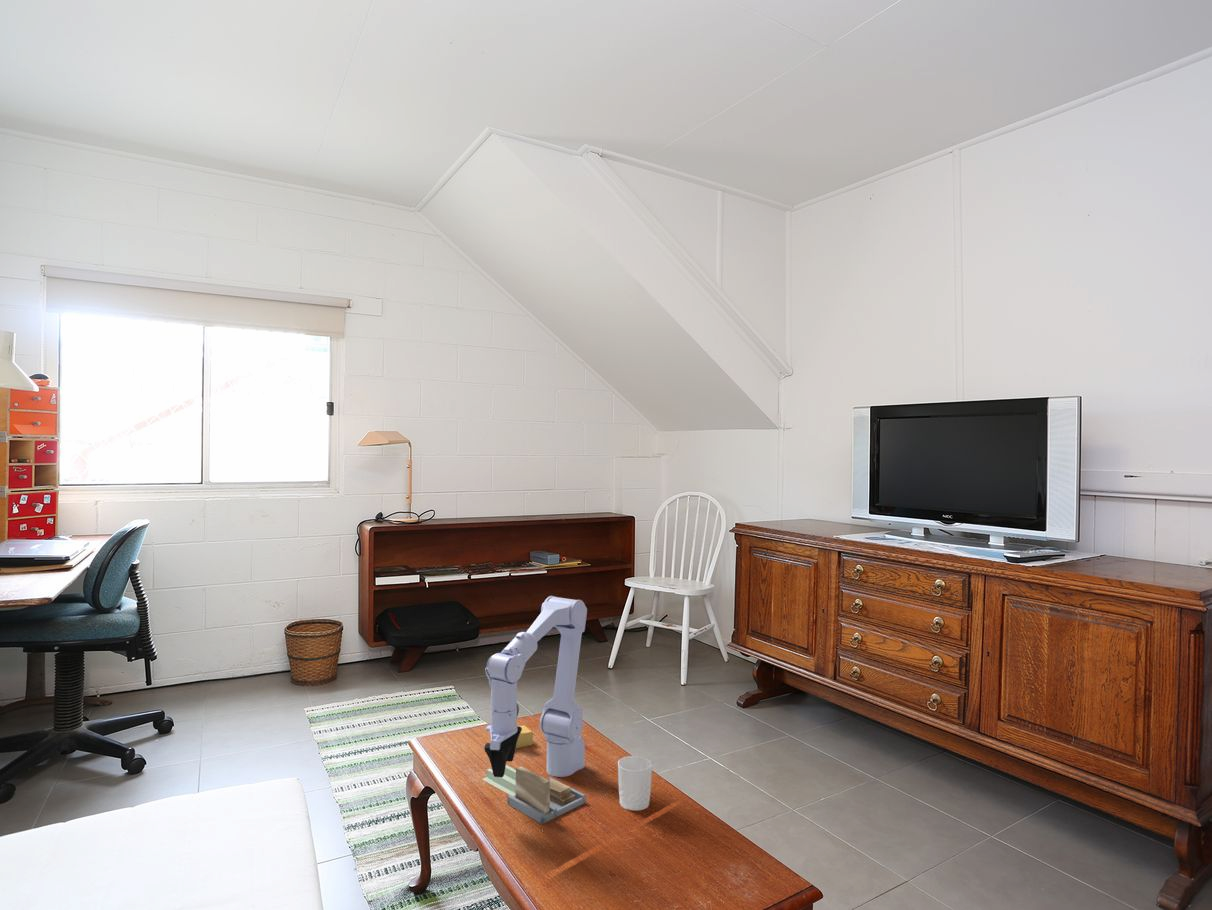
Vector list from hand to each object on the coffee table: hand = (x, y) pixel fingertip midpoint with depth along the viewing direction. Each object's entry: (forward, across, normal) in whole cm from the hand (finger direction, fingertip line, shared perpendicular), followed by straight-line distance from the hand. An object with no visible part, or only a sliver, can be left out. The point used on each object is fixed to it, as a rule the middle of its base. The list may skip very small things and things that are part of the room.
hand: (503, 768), depth 159 cm
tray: (+10, -4, +9) cm, 14 cm away
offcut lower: (+9, -7, +11) cm, 16 cm away
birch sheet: (+9, -1, +6) cm, 11 cm away
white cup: (+10, -8, +29) cm, 32 cm away
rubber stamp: (+11, -36, -8) cm, 38 cm away
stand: (+10, -13, -2) cm, 17 cm away
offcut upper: (+8, -7, +10) cm, 15 cm away
